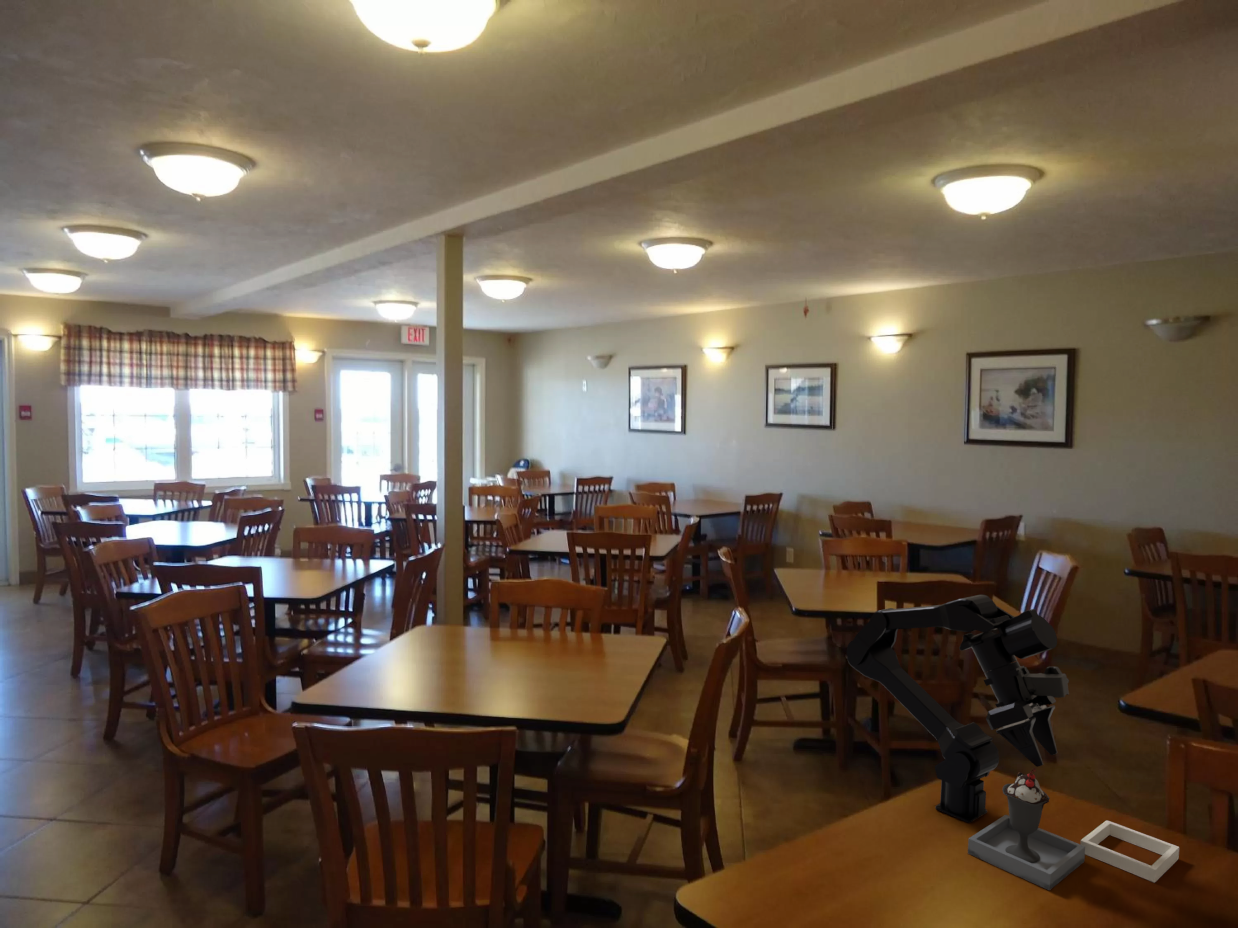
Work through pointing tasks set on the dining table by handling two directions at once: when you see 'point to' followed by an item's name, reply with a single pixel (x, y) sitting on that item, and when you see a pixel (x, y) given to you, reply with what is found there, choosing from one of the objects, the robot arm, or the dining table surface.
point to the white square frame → (1124, 862)
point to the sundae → (1025, 812)
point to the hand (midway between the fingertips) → (1047, 759)
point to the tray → (1052, 849)
